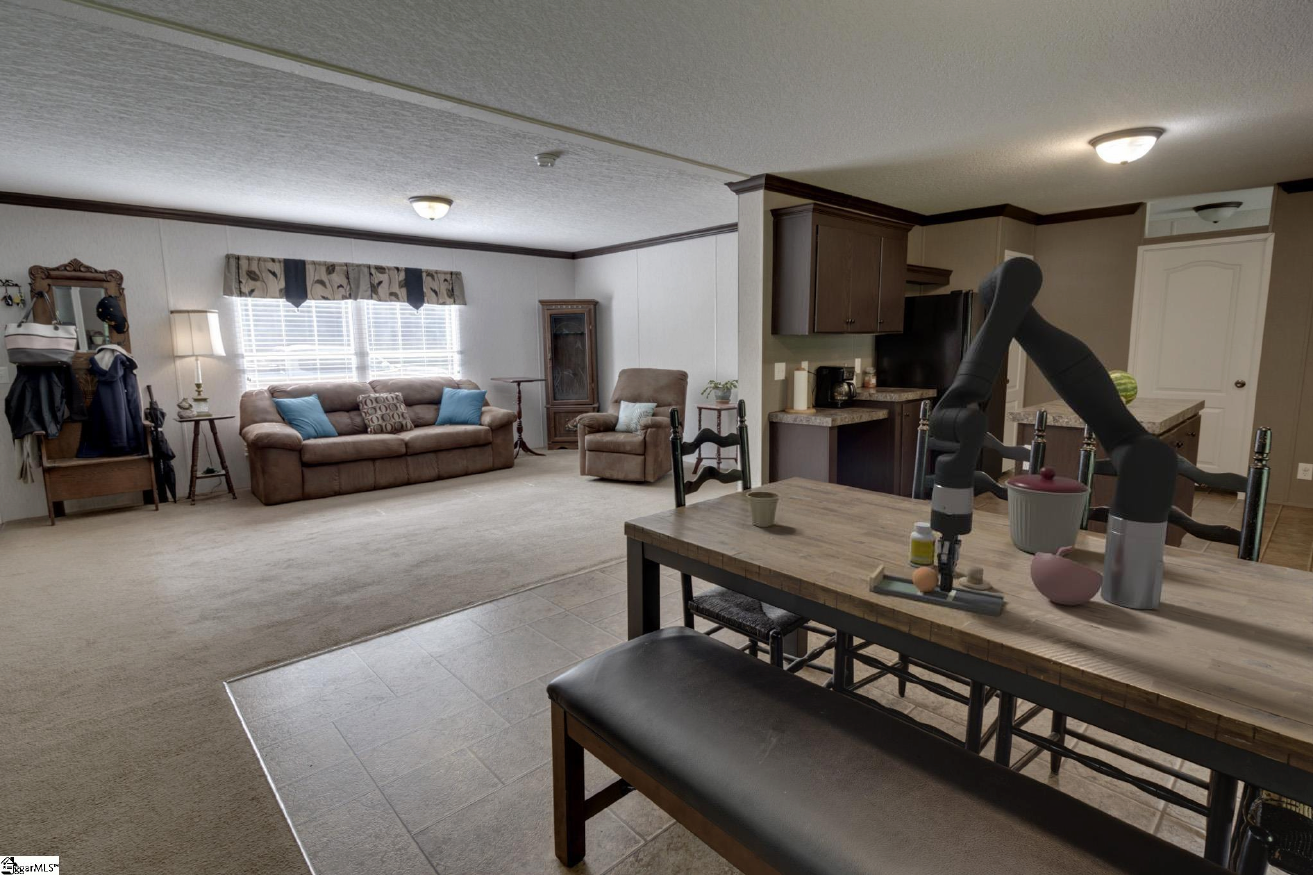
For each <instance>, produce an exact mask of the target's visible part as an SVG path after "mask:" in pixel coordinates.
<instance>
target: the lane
mask: <svg viewBox="0 0 1313 875" xmlns="http://www.w3.org/2000/svg"><path fill="white" fill-rule="evenodd" d="M868 590H869V592H875V593H879V594H884V595H887V596H888V595H889V596H892V597H893V596H894V597H899V598H904V599H909V600H915V601H918V602H923V603H928V604H933V605H939V606H943V607H949V608H953V609H959V610H963V611H969V612H972V611H973V613H978V614H983V615H989V616H991V617H993V616H994V617H998V618H999V617H1000V615H1001V612H1002V607H1003V605H1004V599H1005V595H1000V594H995V593H990V592H989V593H988V592H984V591H980V590H975V589H969V588H964V587H963V588H961V587H957V586H953V589H952V591H951V592H950V593H948V592H943V591H940V583H938V586H937V587H936V588H935V589H934V590H933V591H930V592H924V591H921V590H919V589H918V588H916V586H915V585H914V583H913V579H912V578H909V577H903V576H898V575H892V574H887V573H886V574H885V564H879V566H878V567H877V568H876V570H874V572H872V574H871V575H870V577H869V589H868Z"/></svg>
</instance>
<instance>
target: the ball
mask: <svg viewBox="0 0 1313 875" xmlns="http://www.w3.org/2000/svg"><path fill="white" fill-rule="evenodd" d="M939 578H940V577H939V576H938V573H937V572H936V570H934V569H932V568H929V567H921V568H916V569H915V571H914V572H913V574H912V578H911V579H913V583H914V585H915V586H916V588H918V589H919V590H921V591H924V592H930V591H933V590H934V589H935V588H936V587H937V586H938V584H940V579H939Z"/></svg>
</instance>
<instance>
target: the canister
mask: <svg viewBox="0 0 1313 875" xmlns="http://www.w3.org/2000/svg"><path fill="white" fill-rule="evenodd" d="M1004 484H1005V485H1006V487H1007V501H1008V502H1007V503H1008V504H1007V505H1008V506H1007V507H1008V522H1009V523H1008V524H1009V525H1008V526H1009V534H1010V539H1011V543H1012V544H1013V545H1014V547H1016V548H1018V549H1020V551H1021V550H1022V551H1024V552H1027V553H1031V554H1034V555H1035V554H1036V553H1037V552H1042V553H1051V554H1053V555H1056V554H1057V552H1058V551H1059V549H1060V548H1061V547H1069V546H1074V547H1075V545H1076V543H1077V539H1078V535H1079V531H1080V528H1081V524H1082V519H1083V514H1084V511H1085V506H1086V501H1087V497H1088V495H1089V494H1091V491H1092V489H1091V488H1090V487H1088V486H1086V485H1085V484H1084V483H1083V482H1081V481H1078V480H1075V479H1072V478H1069V477H1063V476H1062V477H1061V476H1057V470H1056V468H1054V467H1052V466H1042V467H1041V468H1040V469H1039V474H1021V475H1015V476H1012V477H1011V478H1009V479H1006V480H1005V481H1004ZM1069 553H1070V552H1067V553H1065V554H1064V555H1063V556H1065V555H1068V554H1069Z"/></svg>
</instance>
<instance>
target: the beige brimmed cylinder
mask: <svg viewBox="0 0 1313 875" xmlns="http://www.w3.org/2000/svg"><path fill="white" fill-rule="evenodd" d="M958 584H959V585H960V586H962V587H963V588H965V589H968V590H974V591H986V590H989V589H991V583H990V581H988V580H986V579H984V568H983V567H980V566H977V565H976V566H975V565H970V566H967V575H966V576H963V577H960V578H959V580H958Z"/></svg>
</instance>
